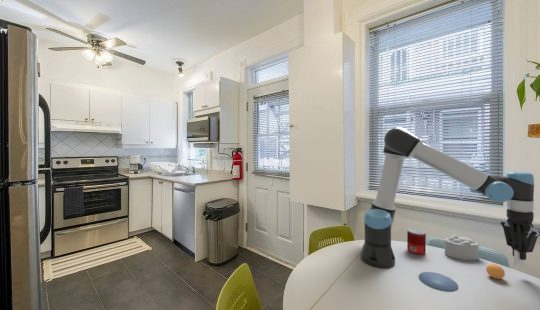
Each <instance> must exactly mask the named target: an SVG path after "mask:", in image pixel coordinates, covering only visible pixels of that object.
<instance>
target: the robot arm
mask: <svg viewBox="0 0 540 310" xmlns="http://www.w3.org/2000/svg"><path fill="white" fill-rule="evenodd" d="M383 141H384V142H383V143H384V147H383V150H382V151H383V152H382V153H383V154H384V157H385V158H384V161H383V167H382V170H381V174H380V175H381V176H380V178H379V179H380V180H379V184H378V188H377V193H376V198H375V199H374V200H372V201H371V205H370V206H371V207H370V209H368V210H366V211H365V213H364V216H363V220H364V223H363V224H364V242H363V245H362V248H361V251H360V259H361V260H362V262H364V263H365V264H367V265H369V266H372V267H375V268H381V269H387V268H391V267H394V266H395V265H396V257H395V254H394V251H393V248H392V244H391V243H392V229H393V227H392V226H393V223H394V221H395V220H394V219H395V215H396V210H397V207H396V206H395V200H396V195H397V190H398V187H399V184H400V178H401V175H402V170H403V165H404V161H405V160H406V159H410V158H412V159H415V160H417V161H419V163H422V164H423V165H426V166H427V167H428V166H429V167H430V168H431V169H434V170H436V171H437V172H440V173H442V174H443V175H445V176H446V177H449V178H451V179H453V180H454V181H456V182H458V183H461V184H462V185H464V186H466V187H468V188H469V191H470V192H471V193H474V194H479V195H480V194H481V195H483V196H484V197H487V198H488V199H489V200H491V201H492V202H497V203H506V208H507V209H506V218H507V219H506V221H501V222H500V225H501V226H502V229H503V233H504V238H505V241H506V245H507V246H508V247H510V248H511V249H512V257H513V265H514V266H515V267H517V268H522V267H523V268H524V267H525V261H526V260H527V253H533V252H534V249H535V246H536V243H537V241H538V237H540V230H537V229H535V228H534V225H533V222H534V215H535V214H534V213H535V212H534V205H535V204H534V200H535V199H534V197H535V195H534V192H535V178H534V174H532V173H531V172H524V171H508V172H507V173H506V175H505V176H493V175H492V176H491V175H489V174H488V173H485V172H483V171H481V170H479V169H477V168H475V167H474V166H472V165H469V164H467V163H466V162H463V161H462V160H459V159H457V158H455V157H452V156H451V155H448V154H446V153H445V152H443V151H441V150H439V149H437V148H435V147H432V146H430V145H428V144H426V143H425V142H423V140H422V138H420V137H418V136H416V135H415V134H413V133H411V132H410V131H409V130H408V129H407V128H403V127H394V128H391V129H389V130H388V131H387V132H386V133H385V135H384V138H383Z"/></svg>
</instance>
